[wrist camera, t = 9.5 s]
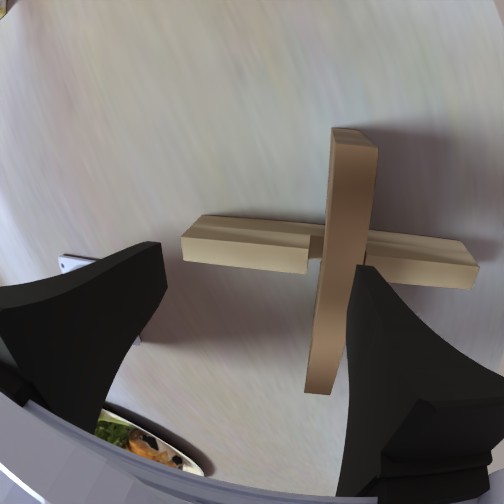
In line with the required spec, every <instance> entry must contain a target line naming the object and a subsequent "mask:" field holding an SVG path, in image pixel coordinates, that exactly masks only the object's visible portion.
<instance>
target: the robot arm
mask: <svg viewBox="0 0 504 504" xmlns="http://www.w3.org/2000/svg"><path fill="white" fill-rule="evenodd" d="M58 261H59V264H60V268H61V271H62V274H60V275H57V276H54V277H50V278H46V279H42V280H38V281H34V282H29V283H24V284H18V285H11V286H2V287H0V504H193V503H195V504H504V469H501V470H498V471H495V472H493V473H491V474H489V475H488V470H487V466H488V465H490V464H491V463H492V454H491V450H492V449H493V448H494V447H495V446H496V445H497V444H498V443H499V442H500V441H501V440H503V438H504V377H503V376H501V375H499V374H497V373H495V372H493V371H491V370H489V369H487V368H485V367H483V366H482V365H480V364H478V363H477V362H475V361H474V360H472V359H470V358H469V357H467V356H466V355H464V354H463V353H461V352H460V351H458V350H457V349H455V348H454V347H453V346H451V345H450V344H449V343H447V342H446V341H445V340H443V339H442V338H441V337H440V336H439V335H437V334H436V333H435V332H434V331H433V330H432V329H430V328H429V327H428V326H427V325H426V324H425V323H424V322H423V321H422V320H421V319H420V318H419V317H418V316H417V315H416V314H415V313H414V312H413V311H412V310H411V309H410V308H409V307H408V306H407V305H406V304H405V303H404V302H403V301H402V299H401V298H400V297H399V296H398V295H397V294H396V292H395V291H394V290H393V289H392V288H391V286H390V285H389V284H388V283H387V282H386V280H385V279H384V278H383V277H382V275H381V274H380V273H379V272H378V270H377V269H376V268H375V267H374V266H368V265H359V264H357V265H356V270H355V275H354V280H353V285H352V289H351V294H350V299H349V303H348V307H347V314H346V346H347V359H348V374H349V408H348V420H347V430H346V438H345V446H344V453H343V459H342V466H341V471H340V477H339V482H338V487H337V491H336V496H335V497H330V496H314V495H303V494H293V493H285V492H278V491H271V490H264V489H258V488H253V487H247V486H242V485H237V484H233V483H228V482H224V481H220V480H216V479H212V478H208V477H204V476H200V475H197V474H193V473H190V472H186V471H183V470H180V469H177V468H173V467H170V466H167V465H164V464H161V463H159V462H156V461H153V460H150V459H148V458H145V457H142V456H140V455H137V454H135V453H132V452H130V451H127V450H125V449H122V448H120V447H118V446H115V445H113V444H111V443H109V442H107V441H104V440H102V439H100V438H98V437H96V436H94V433H95V430H96V426H97V423H98V420H99V416H100V413H101V410H102V408H103V405H104V402H105V399H106V397H107V394H108V392H109V389H110V387H111V385H112V382H113V380H114V378H115V376H116V373H117V371H118V369H119V367H120V365H121V363H122V361H123V359H124V357H125V355H126V354H127V352H128V351H129V349H130V347H131V346H132V344H133V345H136V346H138V345H140V343H141V340H140V337H139V334H140V333H141V331H142V330H143V328H144V327H145V325H146V324H147V323H148V321H149V320H150V318H151V317H152V315H153V314H154V312H155V311H156V309H157V308H158V306H159V304H160V302H161V300H162V298H163V296H164V294H165V292H166V290H167V288H168V286H167V280H166V274H165V267H164V261H163V254H162V247H161V243H160V242H150V241H146V242H142V243H139V244H136V245H134V246H131V247H129V248H126V249H124V250H121V251H119V252H117V253H114V254H112V255H110V256H107V257H105V258H103V259H100V260H98V261H95V260H88V259H82V258H76V257H70V256H64V255H61V256H59V257H58ZM184 500H185V501H184ZM187 501H188V502H187ZM190 502H192V503H190Z"/></svg>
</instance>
